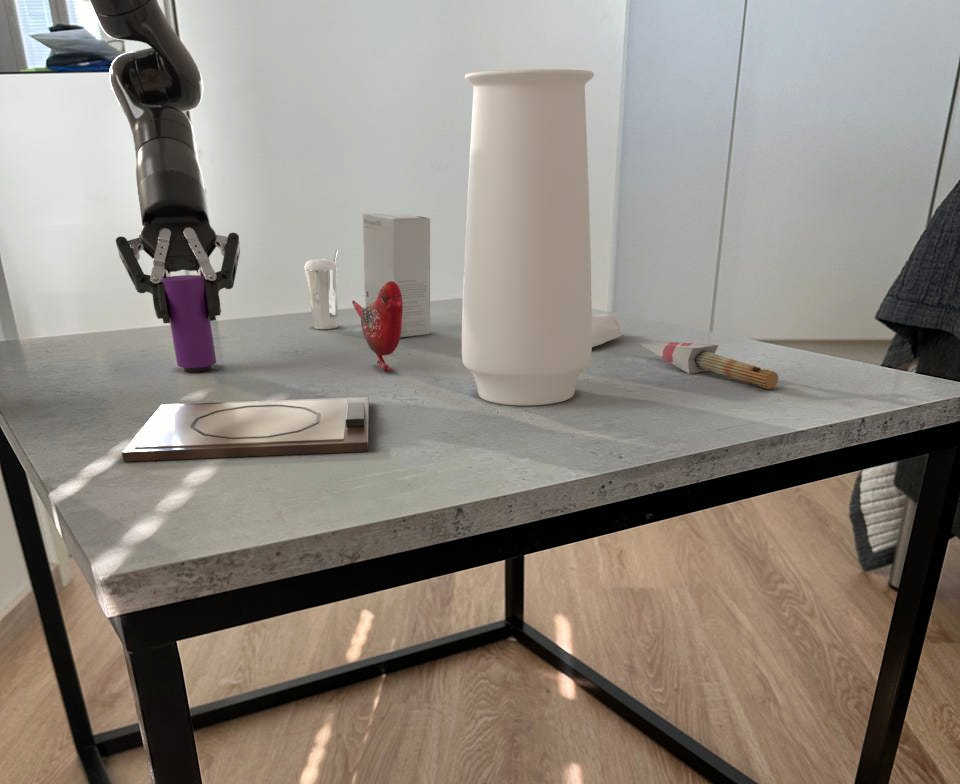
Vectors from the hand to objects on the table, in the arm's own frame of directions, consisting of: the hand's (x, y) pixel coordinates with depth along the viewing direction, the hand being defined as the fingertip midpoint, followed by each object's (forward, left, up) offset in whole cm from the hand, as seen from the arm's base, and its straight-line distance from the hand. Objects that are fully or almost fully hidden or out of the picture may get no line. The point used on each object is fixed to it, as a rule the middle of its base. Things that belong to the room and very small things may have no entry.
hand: (189, 316), depth 103 cm
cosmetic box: (+24, +22, -6) cm, 33 cm away
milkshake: (+14, +28, -6) cm, 32 cm away
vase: (+36, -16, -6) cm, 40 cm away
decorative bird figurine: (+21, 0, -6) cm, 22 cm away
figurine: (+43, +13, -6) cm, 45 cm away
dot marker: (0, +2, -6) cm, 6 cm away
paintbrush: (+57, -9, -6) cm, 58 cm away
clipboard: (+10, -26, -6) cm, 29 cm away
